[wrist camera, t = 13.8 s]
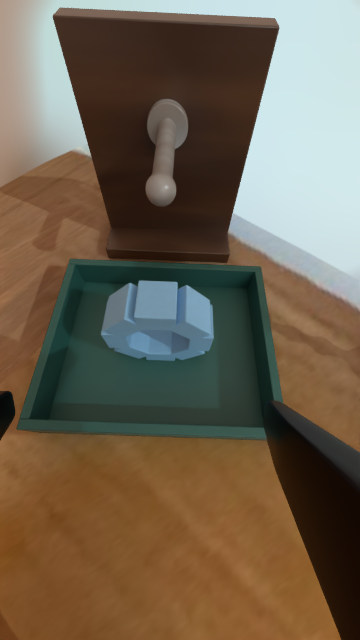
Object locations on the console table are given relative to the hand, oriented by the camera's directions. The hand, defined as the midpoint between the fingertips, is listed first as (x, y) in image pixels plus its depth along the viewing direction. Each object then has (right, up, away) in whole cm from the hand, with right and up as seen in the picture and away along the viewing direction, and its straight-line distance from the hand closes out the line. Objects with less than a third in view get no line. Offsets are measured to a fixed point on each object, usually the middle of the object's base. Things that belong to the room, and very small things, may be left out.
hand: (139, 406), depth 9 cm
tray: (0, +1, +12) cm, 12 cm away
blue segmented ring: (0, +3, +8) cm, 8 cm away
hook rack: (0, +9, +16) cm, 19 cm away
